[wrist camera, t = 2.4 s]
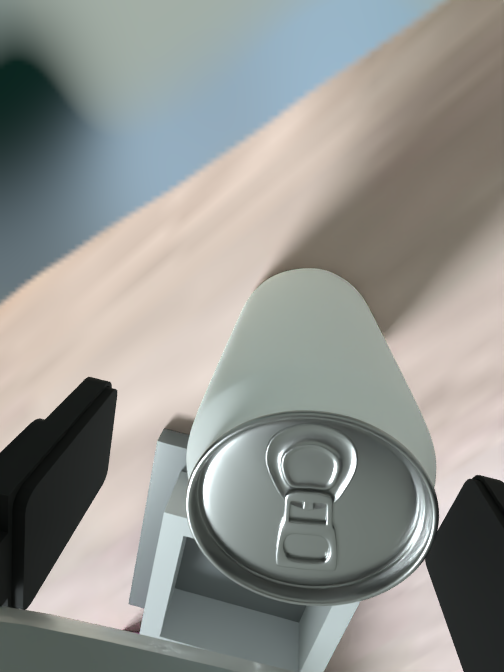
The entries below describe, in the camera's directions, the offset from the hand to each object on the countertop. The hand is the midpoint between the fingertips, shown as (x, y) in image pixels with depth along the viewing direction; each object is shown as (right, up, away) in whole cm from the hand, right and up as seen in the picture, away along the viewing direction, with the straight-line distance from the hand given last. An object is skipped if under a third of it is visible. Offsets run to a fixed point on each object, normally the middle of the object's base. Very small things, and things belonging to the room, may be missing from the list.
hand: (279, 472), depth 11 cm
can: (+2, +4, +10) cm, 11 cm away
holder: (-1, -10, +15) cm, 18 cm away
